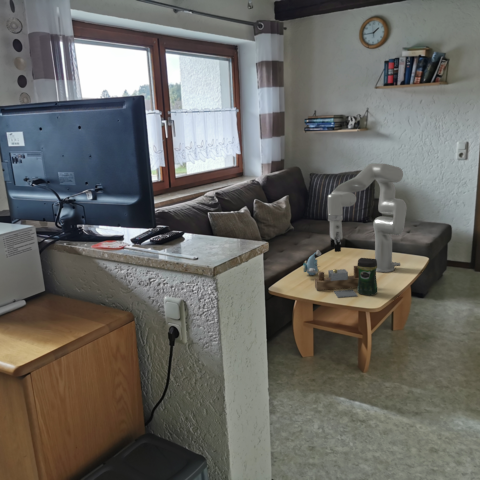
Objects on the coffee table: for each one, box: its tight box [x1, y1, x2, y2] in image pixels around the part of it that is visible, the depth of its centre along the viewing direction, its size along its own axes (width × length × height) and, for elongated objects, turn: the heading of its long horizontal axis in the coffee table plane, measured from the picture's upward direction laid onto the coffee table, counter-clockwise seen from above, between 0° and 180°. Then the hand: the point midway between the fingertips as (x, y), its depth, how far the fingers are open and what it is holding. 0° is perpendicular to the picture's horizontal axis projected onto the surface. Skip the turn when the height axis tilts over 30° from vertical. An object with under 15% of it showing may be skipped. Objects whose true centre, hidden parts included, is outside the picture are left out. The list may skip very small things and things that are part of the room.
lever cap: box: [328, 268, 349, 281], centre depth 260 cm, size 9×6×5 cm, turn 93°
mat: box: [333, 288, 359, 299], centre depth 251 cm, size 10×9×1 cm
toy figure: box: [302, 249, 322, 276], centre depth 284 cm, size 17×10×15 cm, turn 168°
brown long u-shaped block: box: [314, 265, 359, 292], centre depth 261 cm, size 26×6×11 cm, turn 93°
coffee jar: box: [356, 257, 379, 296], centre depth 248 cm, size 10×8×19 cm
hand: (335, 249), depth 258 cm, fingers open, 9 cm apart
